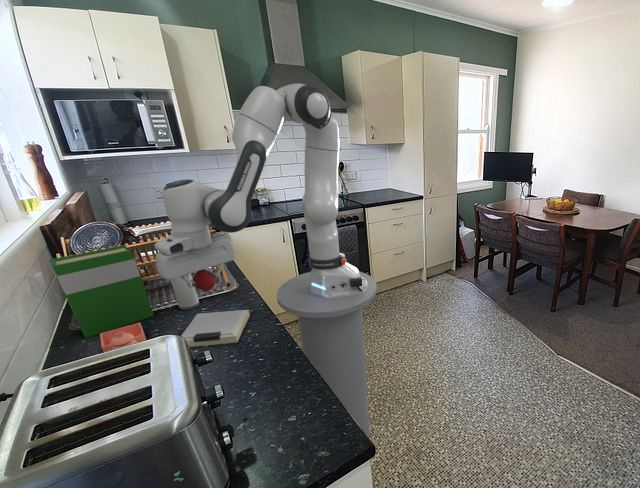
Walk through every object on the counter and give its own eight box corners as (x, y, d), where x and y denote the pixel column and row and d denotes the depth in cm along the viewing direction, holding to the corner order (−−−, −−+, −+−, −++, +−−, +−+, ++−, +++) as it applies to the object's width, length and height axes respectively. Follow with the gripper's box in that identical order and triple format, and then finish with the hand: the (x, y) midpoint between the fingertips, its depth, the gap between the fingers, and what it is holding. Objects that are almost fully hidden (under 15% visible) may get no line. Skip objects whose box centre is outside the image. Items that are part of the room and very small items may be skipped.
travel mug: (173, 308, 123) (157, 256, 115) (190, 300, 129) (176, 250, 121) (187, 311, 122) (171, 259, 113) (203, 303, 127) (189, 252, 119)
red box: (104, 345, 103) (92, 317, 99) (144, 333, 109) (134, 306, 105) (109, 376, 91) (96, 345, 87) (153, 361, 97) (142, 331, 93)
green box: (147, 308, 123) (125, 244, 113) (154, 315, 119) (131, 250, 109) (80, 329, 110) (49, 259, 101) (85, 338, 106) (53, 266, 96)
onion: (219, 286, 109) (213, 262, 106) (217, 294, 104) (210, 269, 101) (197, 288, 107) (191, 265, 104) (194, 297, 102) (187, 272, 99)
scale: (250, 315, 120) (248, 307, 119) (237, 342, 106) (235, 334, 105) (199, 319, 117) (196, 312, 116) (178, 348, 103) (175, 339, 101)
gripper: (223, 228, 108) (232, 268, 114) (147, 246, 92) (162, 292, 98) (234, 232, 105) (243, 273, 111) (158, 251, 89) (172, 298, 95)
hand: (204, 282), depth 104 cm, fingers closed on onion, 6 cm apart
